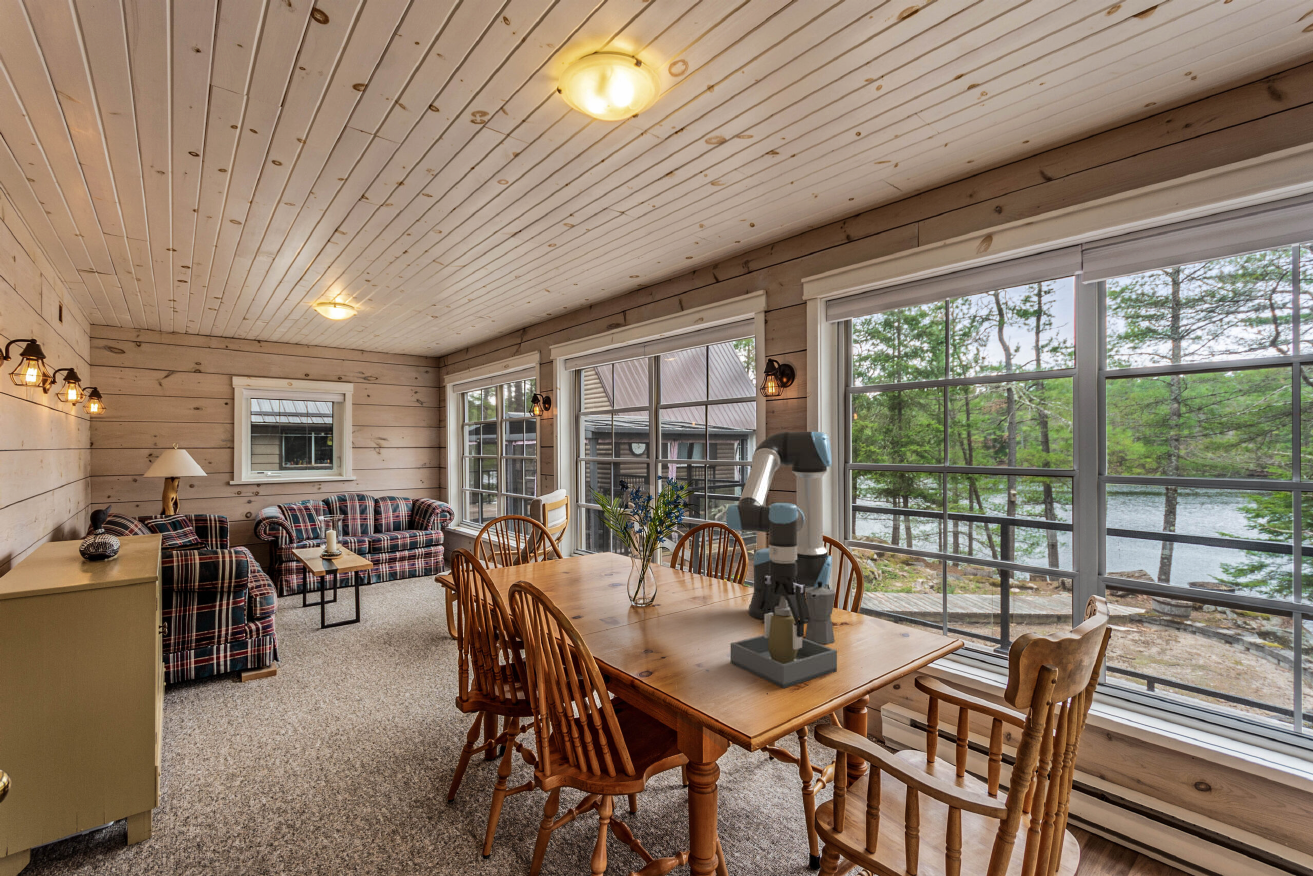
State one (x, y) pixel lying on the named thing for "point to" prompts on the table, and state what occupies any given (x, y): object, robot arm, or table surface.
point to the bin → (805, 666)
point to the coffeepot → (820, 614)
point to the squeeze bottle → (782, 634)
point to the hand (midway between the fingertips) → (782, 642)
